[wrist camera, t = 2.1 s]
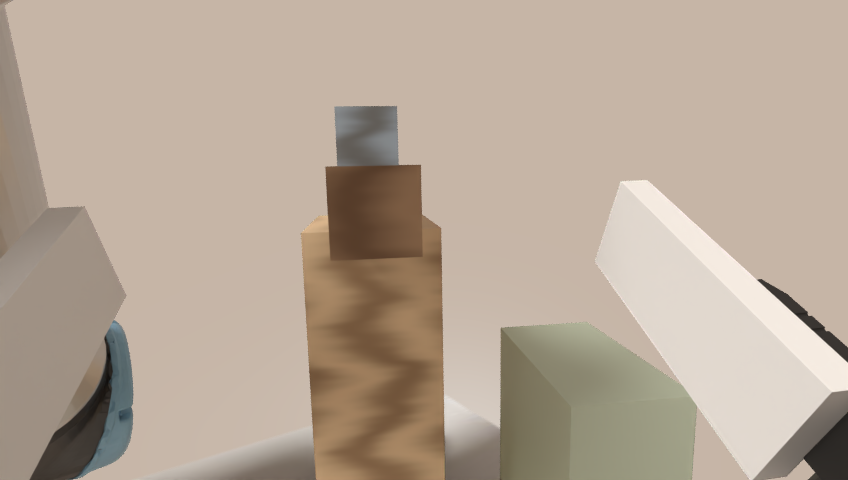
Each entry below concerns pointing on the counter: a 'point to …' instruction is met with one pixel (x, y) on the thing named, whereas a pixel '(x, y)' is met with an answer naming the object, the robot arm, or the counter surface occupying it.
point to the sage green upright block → (589, 409)
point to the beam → (372, 189)
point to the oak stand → (375, 360)
